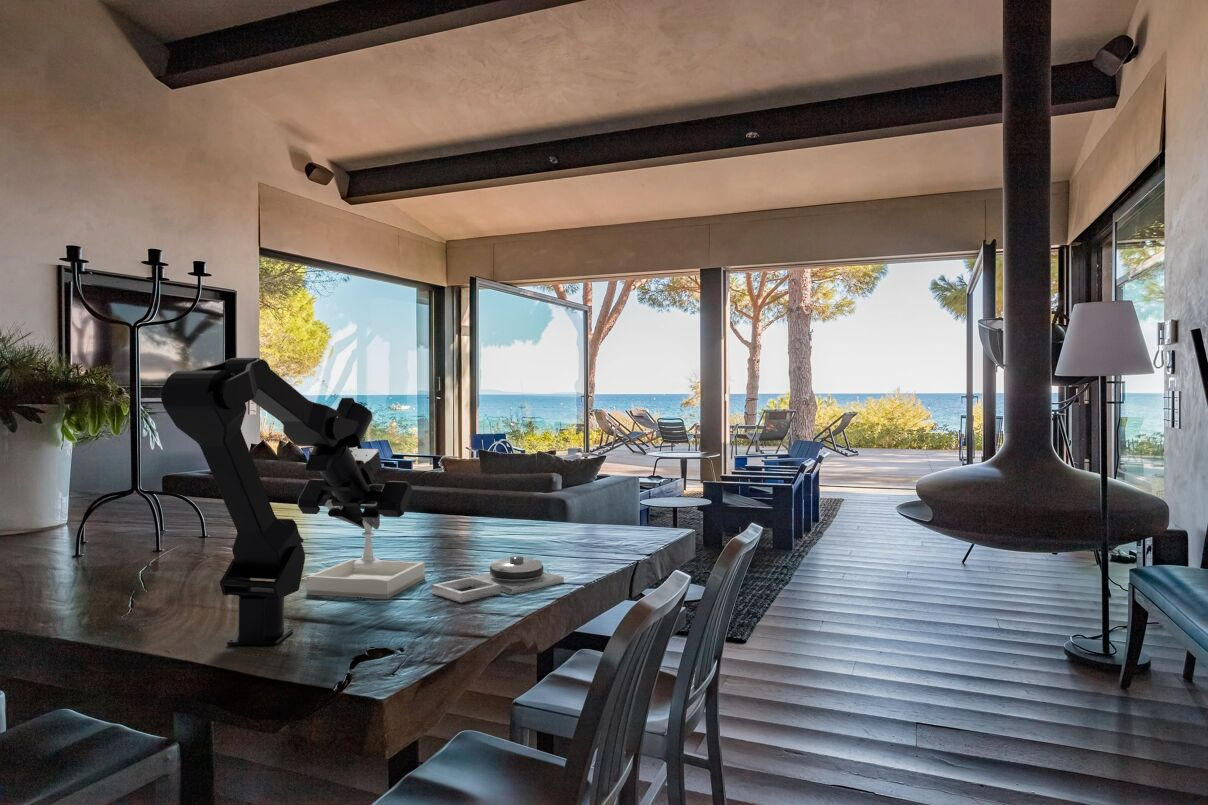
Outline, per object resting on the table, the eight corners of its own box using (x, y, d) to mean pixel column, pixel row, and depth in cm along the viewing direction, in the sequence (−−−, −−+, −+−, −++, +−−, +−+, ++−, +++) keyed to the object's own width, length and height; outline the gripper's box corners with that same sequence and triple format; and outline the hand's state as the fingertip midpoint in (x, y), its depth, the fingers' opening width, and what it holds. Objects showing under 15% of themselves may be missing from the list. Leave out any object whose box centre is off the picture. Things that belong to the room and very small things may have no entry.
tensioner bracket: (467, 605, 118) (467, 576, 118) (425, 591, 126) (425, 565, 126) (563, 582, 133) (563, 557, 133) (520, 571, 142) (520, 548, 142)
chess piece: (383, 567, 128) (384, 510, 128) (353, 569, 126) (354, 511, 126) (381, 562, 133) (381, 506, 133) (352, 564, 131) (353, 507, 131)
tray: (387, 599, 121) (387, 581, 121) (306, 594, 124) (306, 576, 124) (424, 578, 135) (424, 562, 136) (351, 574, 138) (351, 558, 138)
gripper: (408, 434, 124) (434, 492, 135) (308, 432, 128) (341, 490, 138) (386, 485, 116) (415, 543, 127) (279, 482, 120) (316, 539, 130)
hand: (371, 526), depth 131 cm, fingers closed on chess piece
